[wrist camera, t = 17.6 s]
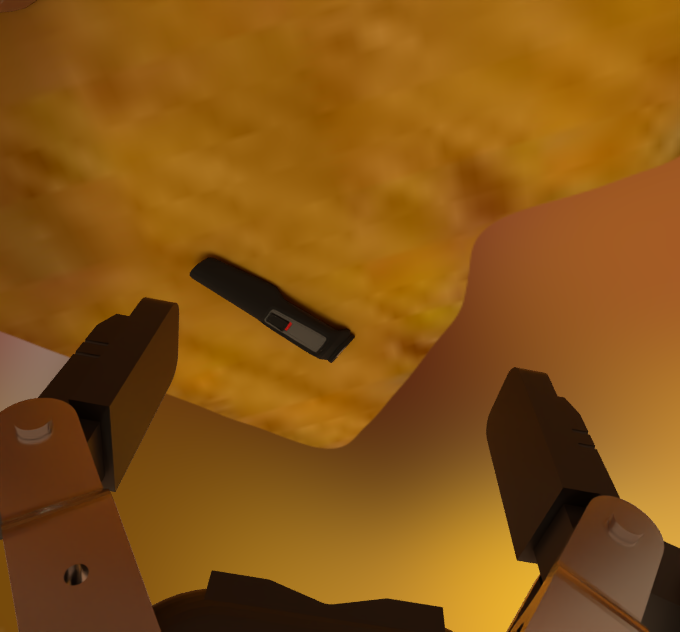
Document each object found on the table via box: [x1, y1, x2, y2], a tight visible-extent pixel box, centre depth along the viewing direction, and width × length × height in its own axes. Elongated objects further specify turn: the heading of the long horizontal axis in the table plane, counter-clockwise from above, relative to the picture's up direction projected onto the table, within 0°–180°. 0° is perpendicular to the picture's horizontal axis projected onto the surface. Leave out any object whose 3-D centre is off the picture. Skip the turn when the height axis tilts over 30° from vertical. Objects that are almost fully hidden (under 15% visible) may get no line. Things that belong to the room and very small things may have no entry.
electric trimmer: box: [190, 258, 355, 363], centre depth 46 cm, size 4×16×3 cm, turn 55°
